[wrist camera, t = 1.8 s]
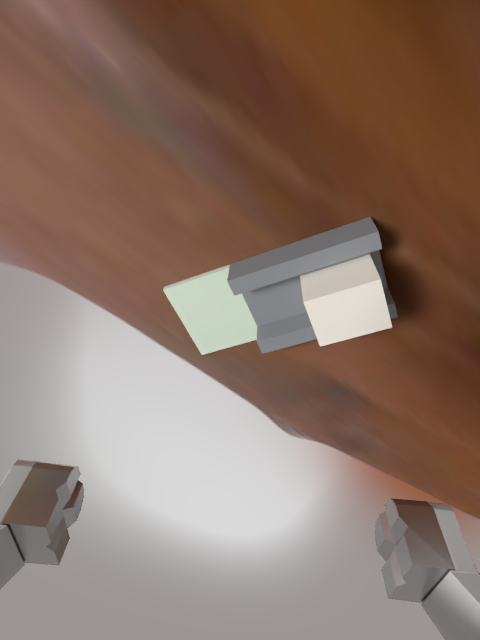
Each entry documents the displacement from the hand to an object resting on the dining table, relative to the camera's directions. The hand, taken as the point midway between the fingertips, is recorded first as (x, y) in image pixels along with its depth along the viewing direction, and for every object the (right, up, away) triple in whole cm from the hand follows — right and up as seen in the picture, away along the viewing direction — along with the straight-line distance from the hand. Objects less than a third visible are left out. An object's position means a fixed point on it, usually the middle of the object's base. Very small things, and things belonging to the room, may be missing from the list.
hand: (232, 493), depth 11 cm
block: (+9, +9, +26) cm, 29 cm away
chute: (+4, +7, +29) cm, 30 cm away
